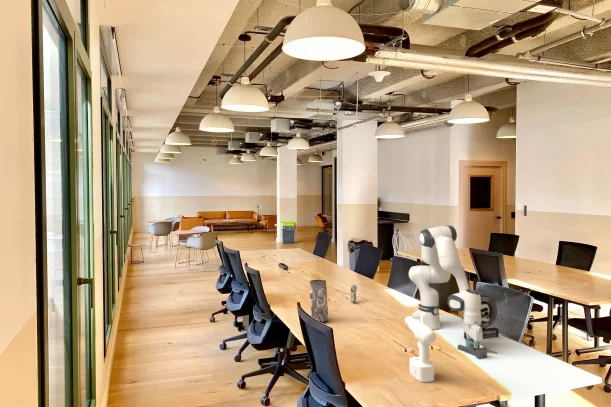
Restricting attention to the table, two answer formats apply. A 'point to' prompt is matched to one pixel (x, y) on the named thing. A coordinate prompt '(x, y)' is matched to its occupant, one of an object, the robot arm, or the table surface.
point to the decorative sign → (487, 317)
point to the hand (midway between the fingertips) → (472, 344)
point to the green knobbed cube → (470, 343)
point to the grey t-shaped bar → (475, 351)
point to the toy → (353, 293)
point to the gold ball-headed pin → (491, 352)
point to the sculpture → (319, 300)
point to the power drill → (421, 351)
